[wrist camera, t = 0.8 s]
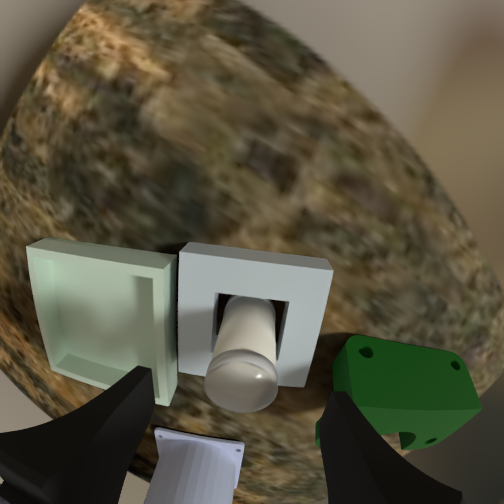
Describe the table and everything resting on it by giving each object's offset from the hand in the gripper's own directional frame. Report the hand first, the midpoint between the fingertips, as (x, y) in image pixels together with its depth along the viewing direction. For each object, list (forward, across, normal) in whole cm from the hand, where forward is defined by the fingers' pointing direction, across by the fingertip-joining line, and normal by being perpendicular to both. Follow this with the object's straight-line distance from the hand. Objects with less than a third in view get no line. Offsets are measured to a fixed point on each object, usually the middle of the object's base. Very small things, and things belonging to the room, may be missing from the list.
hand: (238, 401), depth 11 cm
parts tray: (+8, +10, +2) cm, 13 cm away
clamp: (+8, -11, +5) cm, 15 cm away
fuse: (+8, 0, 0) cm, 8 cm away
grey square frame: (+8, 0, 0) cm, 8 cm away
